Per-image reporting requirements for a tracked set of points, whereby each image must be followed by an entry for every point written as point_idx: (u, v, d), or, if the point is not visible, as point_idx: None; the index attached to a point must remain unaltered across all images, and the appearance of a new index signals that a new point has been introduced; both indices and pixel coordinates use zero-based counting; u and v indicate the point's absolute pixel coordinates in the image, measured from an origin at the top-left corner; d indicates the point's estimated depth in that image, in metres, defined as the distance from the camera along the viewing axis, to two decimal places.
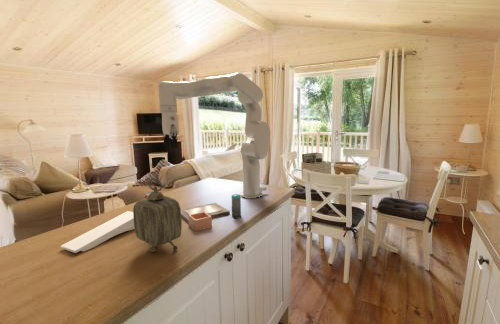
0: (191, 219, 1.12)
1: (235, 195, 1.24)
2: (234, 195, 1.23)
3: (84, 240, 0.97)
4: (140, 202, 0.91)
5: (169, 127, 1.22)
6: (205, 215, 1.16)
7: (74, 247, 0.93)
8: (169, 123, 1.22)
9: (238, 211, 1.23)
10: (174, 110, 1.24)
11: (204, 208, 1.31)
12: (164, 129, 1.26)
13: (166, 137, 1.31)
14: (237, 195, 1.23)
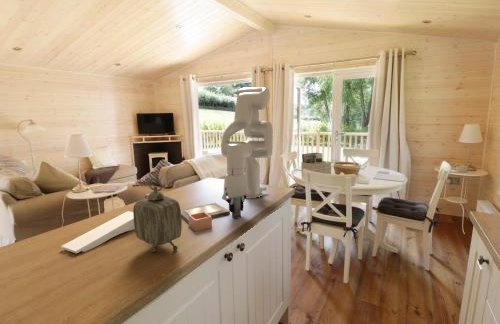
0: (191, 219, 1.12)
1: None
2: None
3: (85, 240, 0.97)
4: (140, 202, 0.91)
5: None
6: (205, 215, 1.16)
7: (75, 247, 0.93)
8: None
9: (238, 211, 1.23)
10: None
11: (204, 208, 1.31)
12: (237, 192, 1.21)
13: (232, 202, 1.22)
14: None
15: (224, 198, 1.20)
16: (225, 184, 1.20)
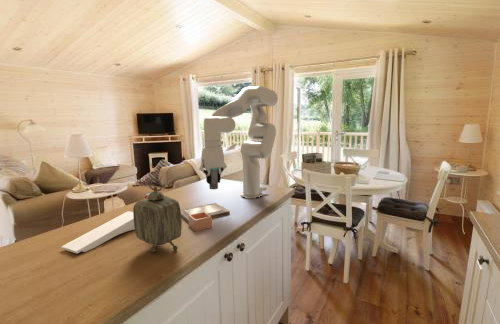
0: (191, 219, 1.12)
1: None
2: None
3: (85, 240, 0.97)
4: (140, 202, 0.91)
5: (223, 160, 1.29)
6: (205, 215, 1.16)
7: (75, 247, 0.93)
8: None
9: (215, 182, 1.28)
10: None
11: (204, 208, 1.31)
12: (214, 164, 1.26)
13: (209, 173, 1.28)
14: None
15: (201, 169, 1.25)
16: (202, 156, 1.25)
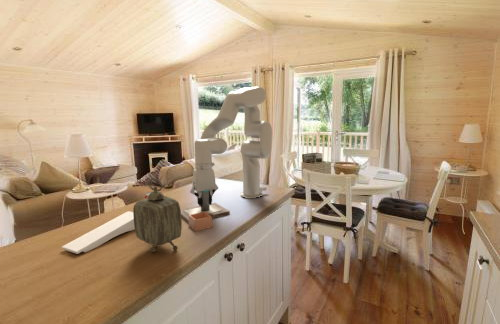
0: (191, 219, 1.12)
1: None
2: None
3: (86, 241, 0.96)
4: (140, 202, 0.91)
5: None
6: (205, 215, 1.16)
7: (76, 248, 0.92)
8: None
9: (206, 204, 1.27)
10: None
11: None
12: (205, 186, 1.25)
13: None
14: None
15: (192, 192, 1.24)
16: (193, 178, 1.24)
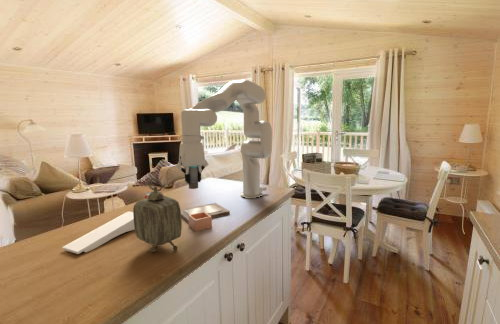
0: (191, 219, 1.12)
1: None
2: None
3: (86, 241, 0.96)
4: (140, 202, 0.91)
5: (204, 157, 1.17)
6: (205, 215, 1.16)
7: (77, 248, 0.92)
8: None
9: (194, 181, 1.16)
10: None
11: (204, 208, 1.31)
12: (193, 161, 1.14)
13: (188, 172, 1.15)
14: None
15: (178, 167, 1.13)
16: (180, 152, 1.13)
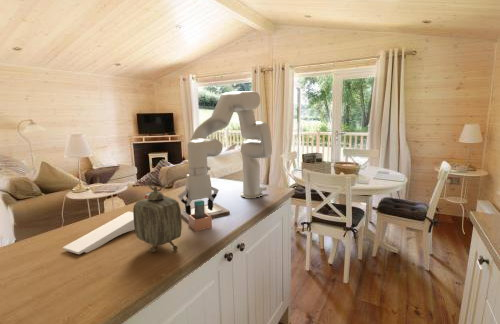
0: (191, 219, 1.12)
1: (198, 201, 1.13)
2: (197, 201, 1.12)
3: (87, 241, 0.96)
4: (140, 202, 0.91)
5: None
6: (205, 215, 1.16)
7: (77, 248, 0.92)
8: None
9: None
10: None
11: (204, 208, 1.31)
12: (200, 194, 1.10)
13: None
14: (200, 201, 1.12)
15: (180, 197, 1.07)
16: (186, 185, 1.09)
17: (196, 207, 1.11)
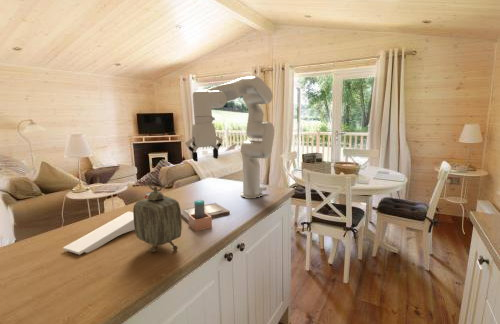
0: (191, 219, 1.12)
1: (198, 201, 1.14)
2: (197, 201, 1.13)
3: (87, 241, 0.96)
4: (140, 202, 0.91)
5: (216, 138, 1.21)
6: (205, 215, 1.16)
7: (78, 248, 0.92)
8: None
9: None
10: None
11: (204, 208, 1.31)
12: (206, 141, 1.18)
13: None
14: (200, 201, 1.13)
15: (187, 143, 1.15)
16: (192, 133, 1.17)
17: (196, 207, 1.11)
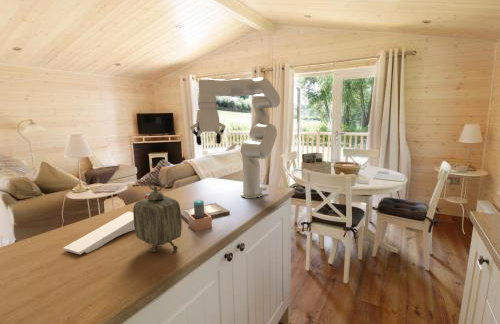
0: (191, 219, 1.12)
1: (197, 201, 1.13)
2: (196, 201, 1.12)
3: (87, 241, 0.96)
4: (140, 202, 0.91)
5: None
6: (205, 215, 1.16)
7: (78, 248, 0.92)
8: None
9: None
10: None
11: (204, 208, 1.31)
12: (209, 126, 1.25)
13: None
14: (200, 201, 1.12)
15: (192, 127, 1.22)
16: (197, 118, 1.24)
17: (195, 207, 1.11)
